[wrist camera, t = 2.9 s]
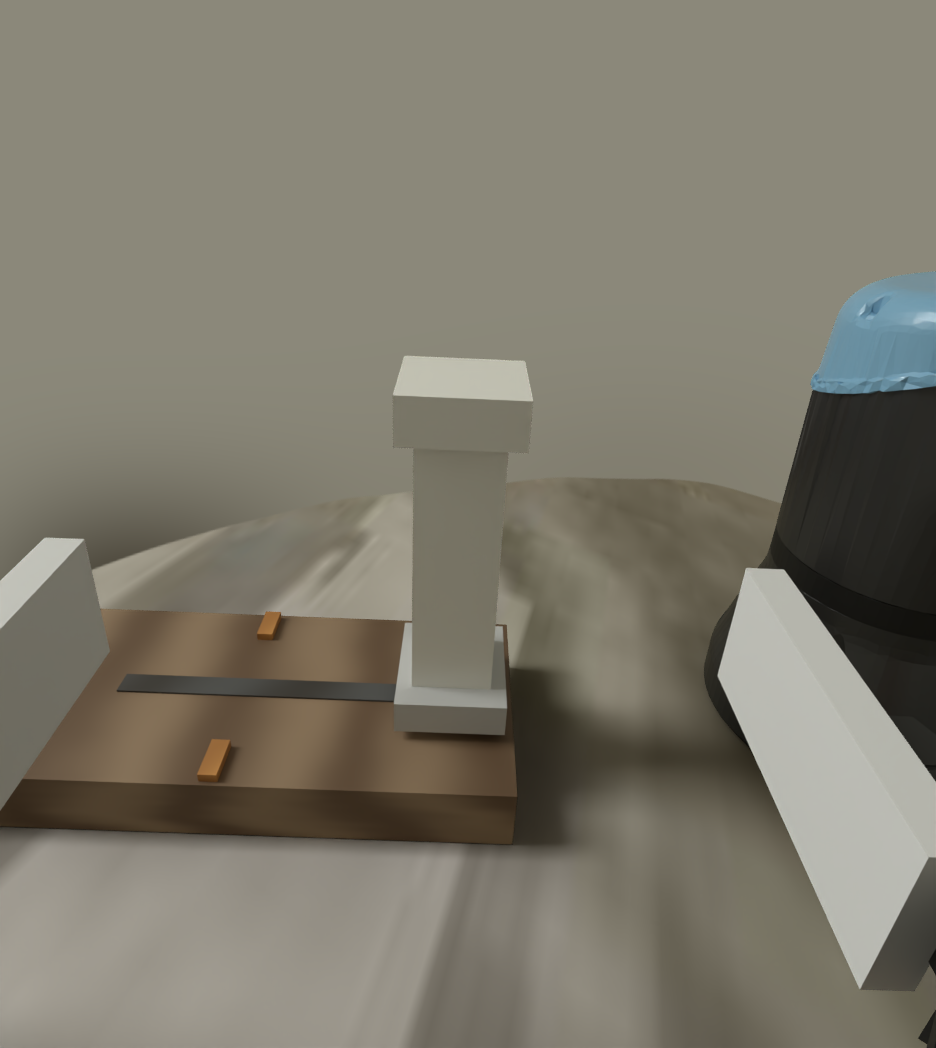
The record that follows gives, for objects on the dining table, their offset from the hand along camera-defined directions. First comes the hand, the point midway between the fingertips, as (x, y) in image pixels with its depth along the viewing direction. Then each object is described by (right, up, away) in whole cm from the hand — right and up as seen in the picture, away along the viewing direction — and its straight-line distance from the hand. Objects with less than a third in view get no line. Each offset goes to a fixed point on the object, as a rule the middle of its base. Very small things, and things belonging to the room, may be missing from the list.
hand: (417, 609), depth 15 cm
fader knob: (0, -6, +21) cm, 22 cm away
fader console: (-10, -9, +22) cm, 26 cm away
